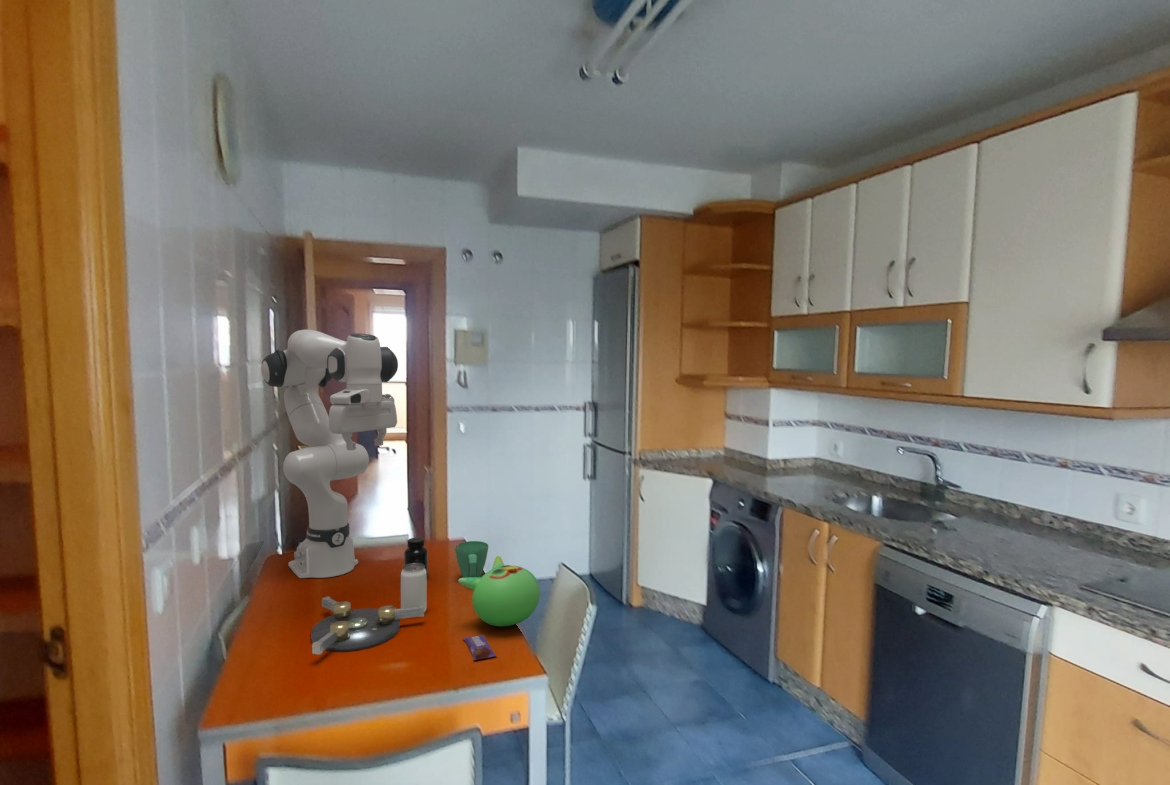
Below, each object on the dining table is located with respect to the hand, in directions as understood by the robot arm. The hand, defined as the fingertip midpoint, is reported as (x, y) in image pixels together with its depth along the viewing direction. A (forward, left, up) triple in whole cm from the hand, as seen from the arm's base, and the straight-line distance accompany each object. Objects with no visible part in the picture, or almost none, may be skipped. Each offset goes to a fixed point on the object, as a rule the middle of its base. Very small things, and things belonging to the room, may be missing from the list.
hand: (365, 447), depth 162 cm
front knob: (+18, -19, -41) cm, 48 cm away
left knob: (+18, -1, -41) cm, 45 cm away
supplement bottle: (-7, +20, -43) cm, 48 cm away
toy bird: (+35, +18, -43) cm, 58 cm away
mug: (+7, +30, -43) cm, 53 cm away
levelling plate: (+13, -10, -43) cm, 45 cm away
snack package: (+41, +5, -43) cm, 60 cm away
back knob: (+2, -10, -41) cm, 42 cm away
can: (+13, +6, -43) cm, 45 cm away
